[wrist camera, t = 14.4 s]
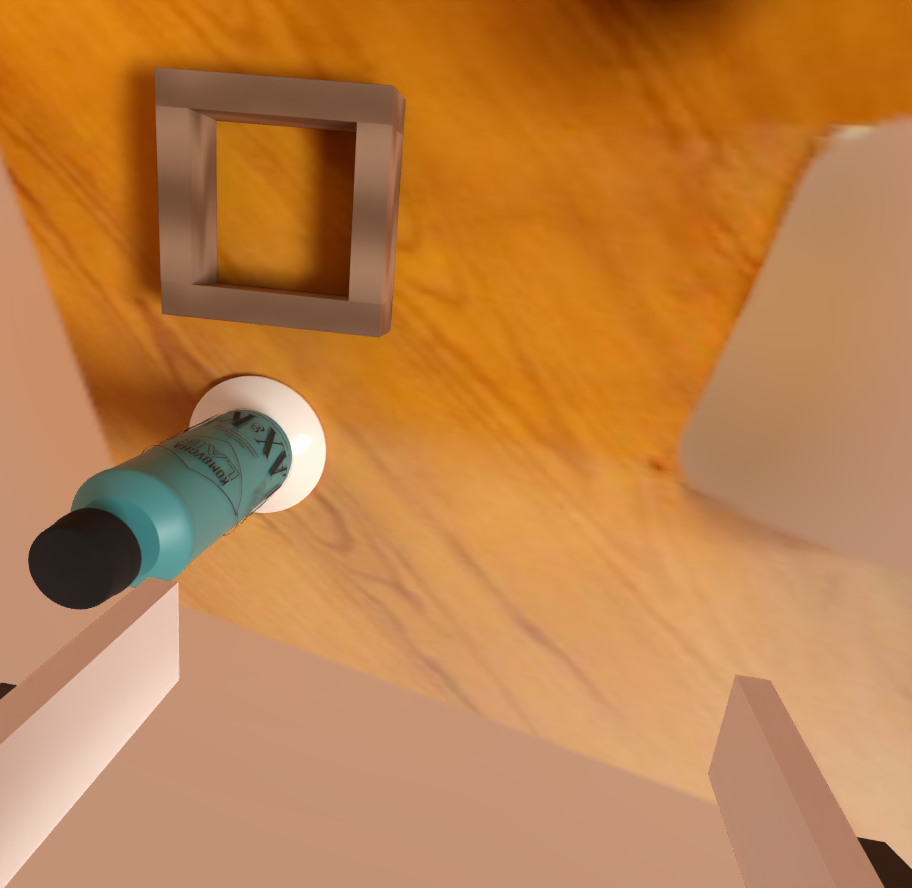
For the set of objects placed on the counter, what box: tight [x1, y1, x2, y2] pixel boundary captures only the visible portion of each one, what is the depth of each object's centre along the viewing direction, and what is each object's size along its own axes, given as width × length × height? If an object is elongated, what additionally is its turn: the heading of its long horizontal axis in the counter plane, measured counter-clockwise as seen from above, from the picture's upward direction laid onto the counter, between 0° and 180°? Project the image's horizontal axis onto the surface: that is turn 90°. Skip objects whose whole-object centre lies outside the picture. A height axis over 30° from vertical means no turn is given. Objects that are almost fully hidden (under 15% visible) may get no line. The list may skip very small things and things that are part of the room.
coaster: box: [189, 375, 327, 513], centre depth 47 cm, size 10×10×1 cm
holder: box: [154, 67, 405, 337], centre depth 41 cm, size 14×14×4 cm
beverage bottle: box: [28, 408, 292, 609], centre depth 37 cm, size 6×7×20 cm
